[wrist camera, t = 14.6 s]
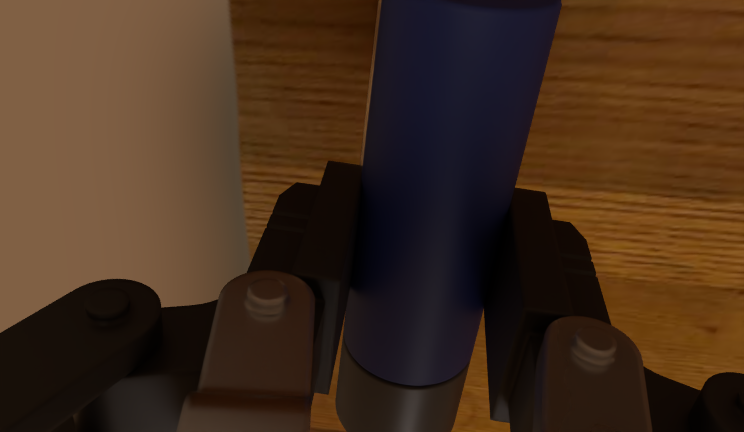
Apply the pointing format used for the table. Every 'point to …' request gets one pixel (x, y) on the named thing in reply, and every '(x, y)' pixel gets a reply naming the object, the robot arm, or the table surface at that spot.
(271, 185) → the table surface
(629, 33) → the table surface
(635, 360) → the robot arm
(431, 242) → the blue cylinder
